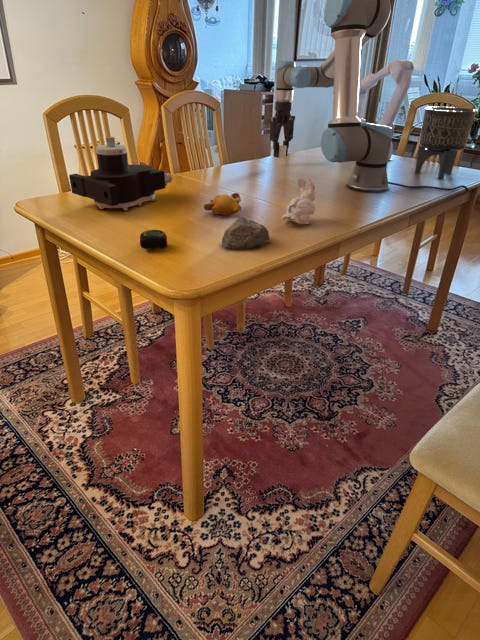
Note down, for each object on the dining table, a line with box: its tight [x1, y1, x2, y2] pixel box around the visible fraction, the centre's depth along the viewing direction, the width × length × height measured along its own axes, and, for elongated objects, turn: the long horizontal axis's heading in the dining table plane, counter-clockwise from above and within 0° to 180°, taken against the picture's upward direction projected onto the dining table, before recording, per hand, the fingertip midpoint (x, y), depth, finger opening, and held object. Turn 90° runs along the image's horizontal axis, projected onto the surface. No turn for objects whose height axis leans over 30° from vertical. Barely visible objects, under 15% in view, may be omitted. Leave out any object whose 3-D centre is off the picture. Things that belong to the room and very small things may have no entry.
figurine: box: [281, 177, 316, 225], centre depth 135 cm, size 8×15×13 cm, turn 145°
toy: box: [203, 192, 242, 216], centre depth 145 cm, size 11×6×15 cm
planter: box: [414, 106, 477, 180], centre depth 193 cm, size 20×20×26 cm
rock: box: [221, 216, 270, 250], centre depth 119 cm, size 13×9×6 cm, turn 131°
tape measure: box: [139, 229, 168, 250], centre depth 117 cm, size 7×7×4 cm
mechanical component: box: [68, 136, 173, 211], centre depth 148 cm, size 22×21×30 cm
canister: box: [277, 144, 287, 159], centre depth 209 cm, size 5×5×5 cm
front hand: (280, 156), depth 210 cm, fingers closed on canister, 5 cm apart
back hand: (352, 136), depth 237 cm, fingers open, 7 cm apart
